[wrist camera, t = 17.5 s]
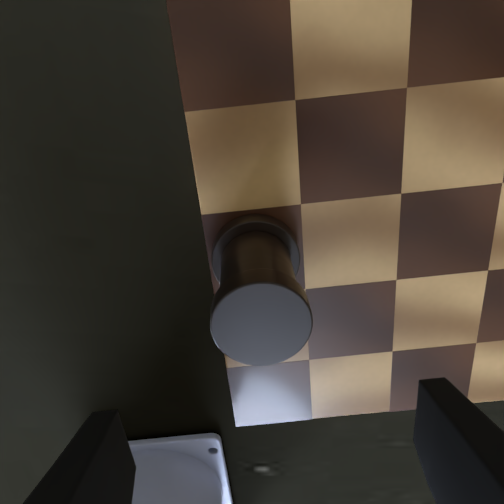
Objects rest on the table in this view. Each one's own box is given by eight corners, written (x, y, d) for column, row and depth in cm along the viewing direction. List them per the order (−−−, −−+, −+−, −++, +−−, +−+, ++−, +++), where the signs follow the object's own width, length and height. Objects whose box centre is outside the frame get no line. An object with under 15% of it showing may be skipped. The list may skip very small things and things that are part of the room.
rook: (300, 285, 20) (319, 364, 15) (218, 293, 20) (213, 375, 15) (295, 208, 18) (316, 272, 13) (206, 218, 18) (196, 284, 14)
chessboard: (533, 384, 24) (544, 396, 23) (235, 413, 24) (235, 426, 23) (646, -70, 15) (670, -75, 14) (166, -15, 15) (163, -17, 14)
